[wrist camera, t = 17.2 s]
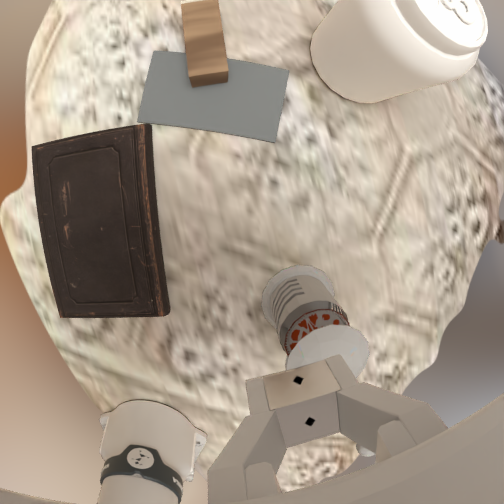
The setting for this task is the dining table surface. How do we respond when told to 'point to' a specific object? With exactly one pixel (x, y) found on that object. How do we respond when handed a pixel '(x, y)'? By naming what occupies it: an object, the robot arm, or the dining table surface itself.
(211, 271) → the dining table surface
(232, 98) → the rubber mat
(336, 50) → the white lidded jar
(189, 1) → the walnut block
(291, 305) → the french press
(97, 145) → the hardcover book
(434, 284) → the dining table surface
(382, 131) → the dining table surface
